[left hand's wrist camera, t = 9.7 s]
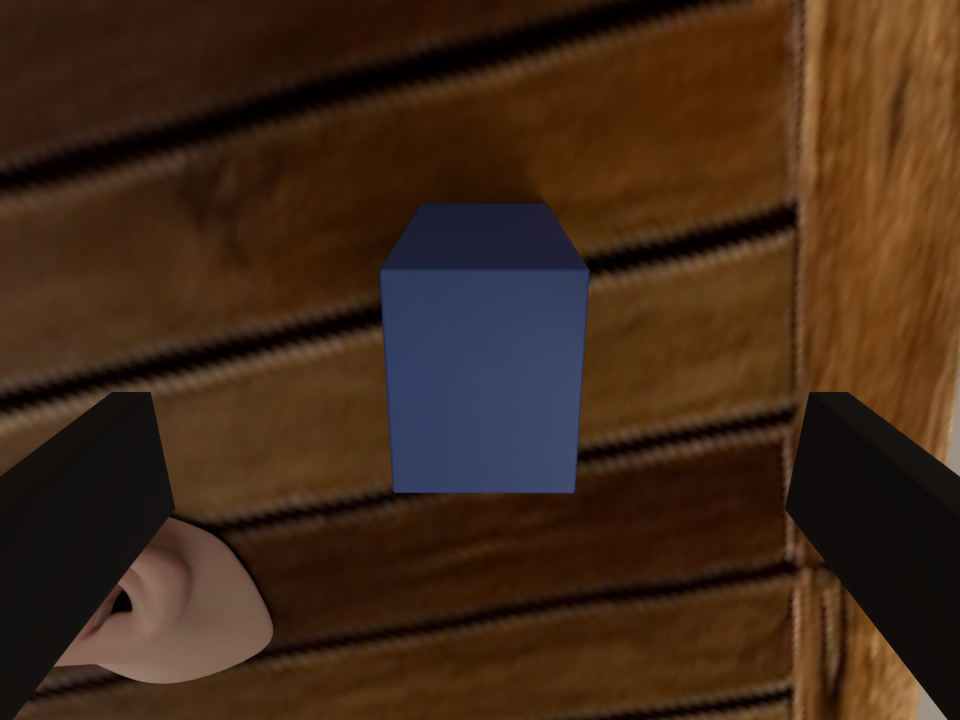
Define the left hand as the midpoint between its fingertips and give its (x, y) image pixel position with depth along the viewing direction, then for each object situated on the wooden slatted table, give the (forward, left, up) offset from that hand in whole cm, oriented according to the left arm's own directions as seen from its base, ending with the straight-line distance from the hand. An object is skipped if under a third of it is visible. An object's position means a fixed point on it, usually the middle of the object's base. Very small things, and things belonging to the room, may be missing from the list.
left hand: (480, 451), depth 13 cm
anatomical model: (-21, -11, -13) cm, 27 cm away
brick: (0, 0, -13) cm, 13 cm away
